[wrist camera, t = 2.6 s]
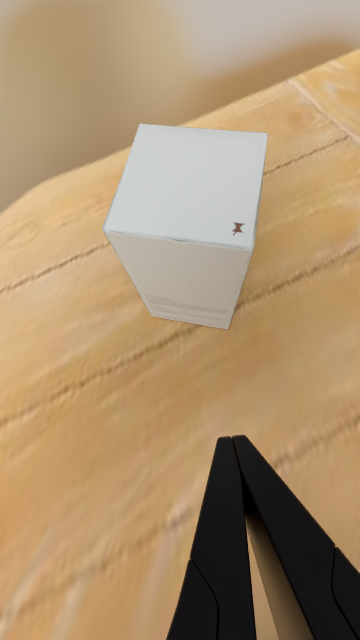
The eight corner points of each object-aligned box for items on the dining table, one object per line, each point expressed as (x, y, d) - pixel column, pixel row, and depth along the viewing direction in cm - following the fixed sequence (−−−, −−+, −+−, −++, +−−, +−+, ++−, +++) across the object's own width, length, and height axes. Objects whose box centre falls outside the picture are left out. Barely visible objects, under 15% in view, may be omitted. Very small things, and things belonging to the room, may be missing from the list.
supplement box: (241, 258, 26) (275, 129, 14) (228, 332, 24) (256, 253, 12) (166, 247, 27) (138, 117, 15) (147, 316, 25) (97, 230, 13)
